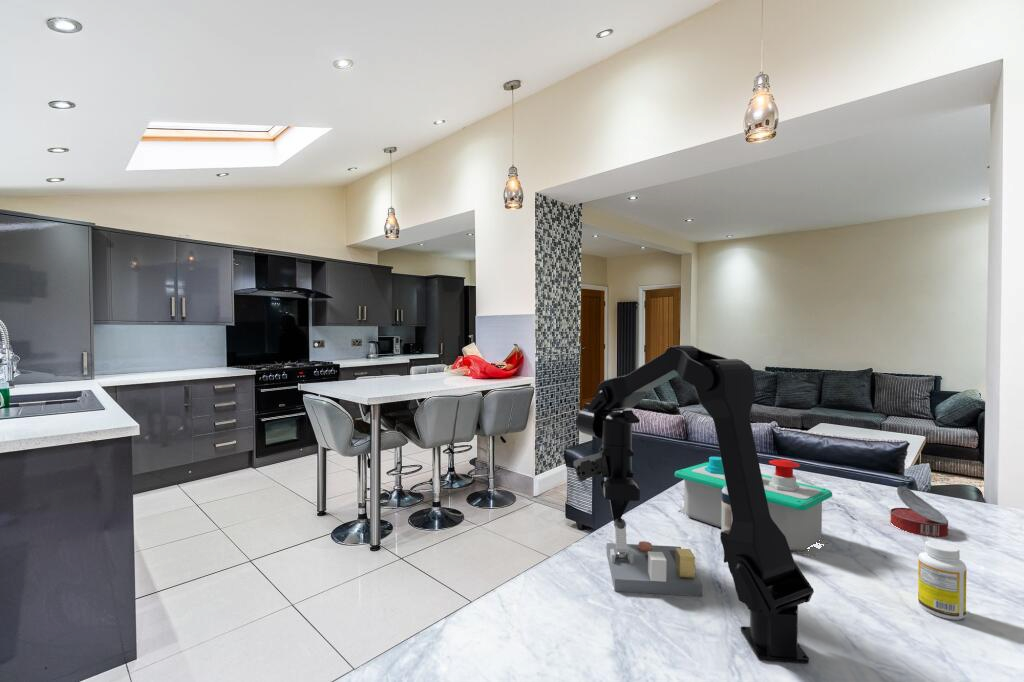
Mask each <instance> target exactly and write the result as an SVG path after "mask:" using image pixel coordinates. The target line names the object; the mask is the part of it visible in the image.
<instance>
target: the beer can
mask: <svg viewBox="0 0 1024 682" xmlns="http://www.w3.org/2000/svg"><path fill="white" fill-rule="evenodd" d="M732 520H733V518H732V512H731V506H730V501H729V496H728V491H727V486H726V485H725V486H724V488H723V489H722V510H721V529H720V531H721V532H723V531H727V530H730V527H731V524H732ZM721 532H720V533H721ZM720 543H721V544H722V542H721V541H720Z"/></svg>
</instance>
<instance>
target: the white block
mask: <svg viewBox="0 0 1024 682" xmlns="http://www.w3.org/2000/svg"><path fill="white" fill-rule="evenodd" d="M648 574H649V576H650V579H651V581H662V582H666V558H665V556H664V554H663V552H650V551H648Z"/></svg>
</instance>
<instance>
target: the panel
mask: <svg viewBox="0 0 1024 682" xmlns="http://www.w3.org/2000/svg"><path fill="white" fill-rule="evenodd" d="M676 548H679V549H682V547H681V546H674V545H657V544H652V543H651V542H649V541H645V540H643V541H639V542H638V544H637V543H636V544H634V543H627V550H616V542H606V556H607V561H608V566H609V567H608V568H609V570H610V571H609V572H610V577H611V580H612V585H613V590H614V592H623V593H624V592H625V593H639V592H641V593H643V594H657V595H658V594H659V595H675V596H688V595H694V596H693V597H703V584H702V582H701V580H700V578H699V576H698V575H697V573H696V572H695V578H685V577H679V575H678V573H677V571H676V569H675V567H676ZM648 551H650V552H663V554H664V556H665V558H666V582H662V581H651V579H650V576H649V574H648ZM616 552H627V553H628V560H624V559H616ZM695 595H696V596H695Z"/></svg>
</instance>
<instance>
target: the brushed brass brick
mask: <svg viewBox="0 0 1024 682" xmlns="http://www.w3.org/2000/svg"><path fill="white" fill-rule="evenodd" d="M675 569H676V571H677V573H678V575H679V577H685V578H695V573H696V557H695V555H694V553H693V551H692V550H691V548H681V549H679V548H676V567H675Z"/></svg>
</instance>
